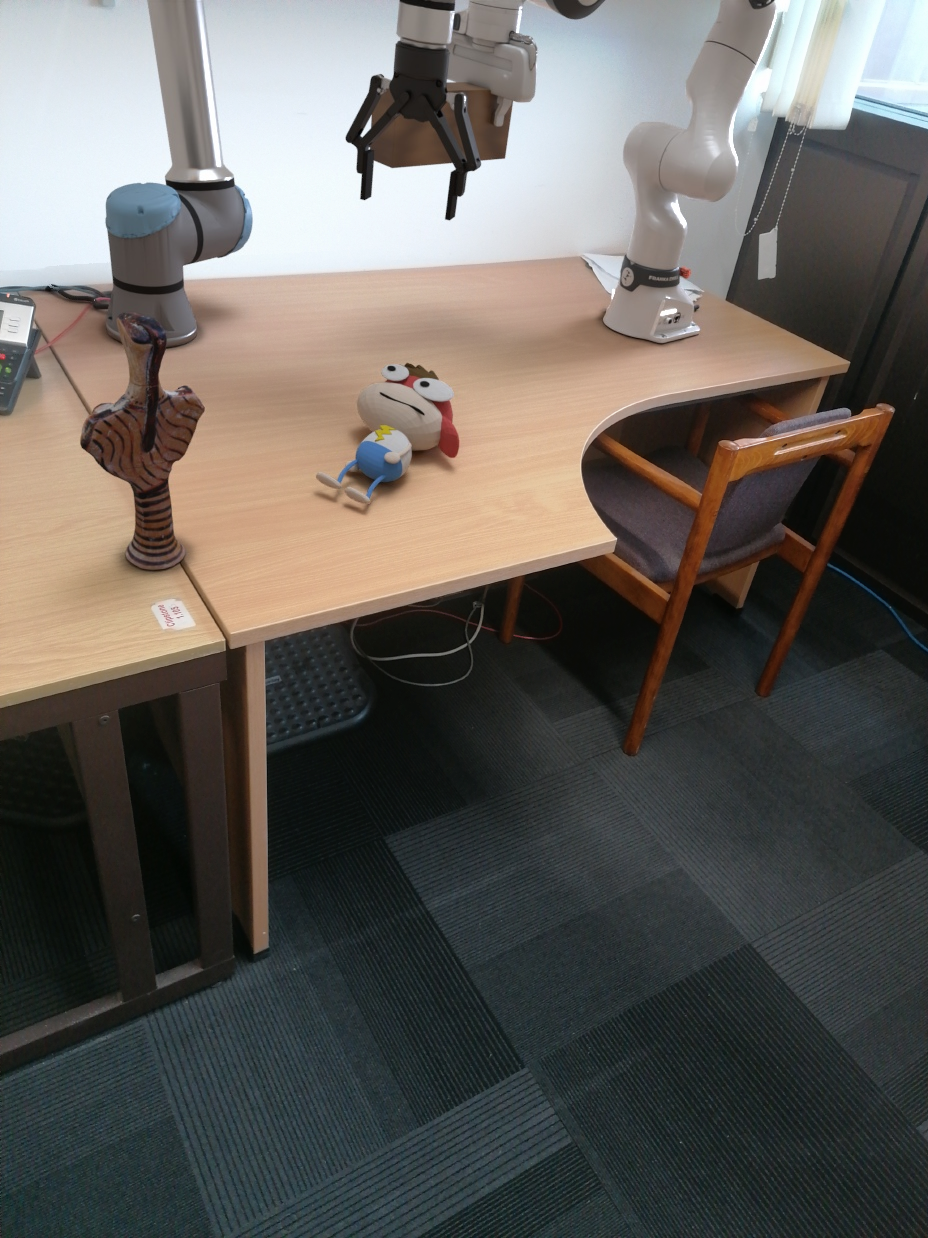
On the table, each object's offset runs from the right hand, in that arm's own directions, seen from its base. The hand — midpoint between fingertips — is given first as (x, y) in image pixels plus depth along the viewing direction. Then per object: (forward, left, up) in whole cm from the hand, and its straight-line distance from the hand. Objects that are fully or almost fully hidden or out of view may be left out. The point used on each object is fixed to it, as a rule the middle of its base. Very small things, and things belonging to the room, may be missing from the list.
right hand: (481, 119), depth 155 cm
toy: (+36, +43, -38) cm, 68 cm away
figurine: (+75, +56, -38) cm, 101 cm away
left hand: (+25, +22, -8) cm, 34 cm away
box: (+9, +2, -6) cm, 11 cm away
